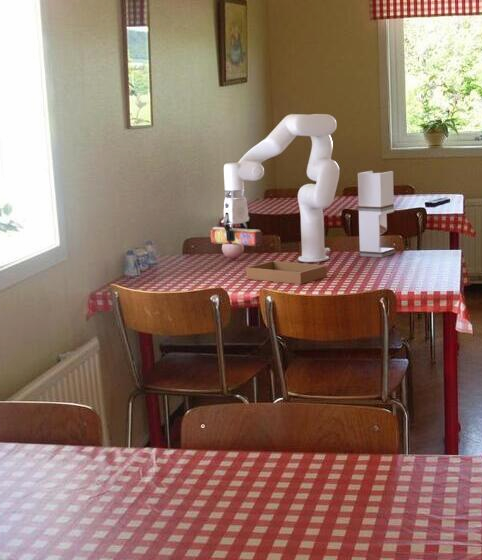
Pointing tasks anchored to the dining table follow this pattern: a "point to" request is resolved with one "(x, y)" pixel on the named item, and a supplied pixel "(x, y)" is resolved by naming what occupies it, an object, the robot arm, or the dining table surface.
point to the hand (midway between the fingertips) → (236, 239)
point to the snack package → (237, 236)
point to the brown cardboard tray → (286, 272)
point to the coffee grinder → (374, 211)
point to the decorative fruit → (232, 250)
